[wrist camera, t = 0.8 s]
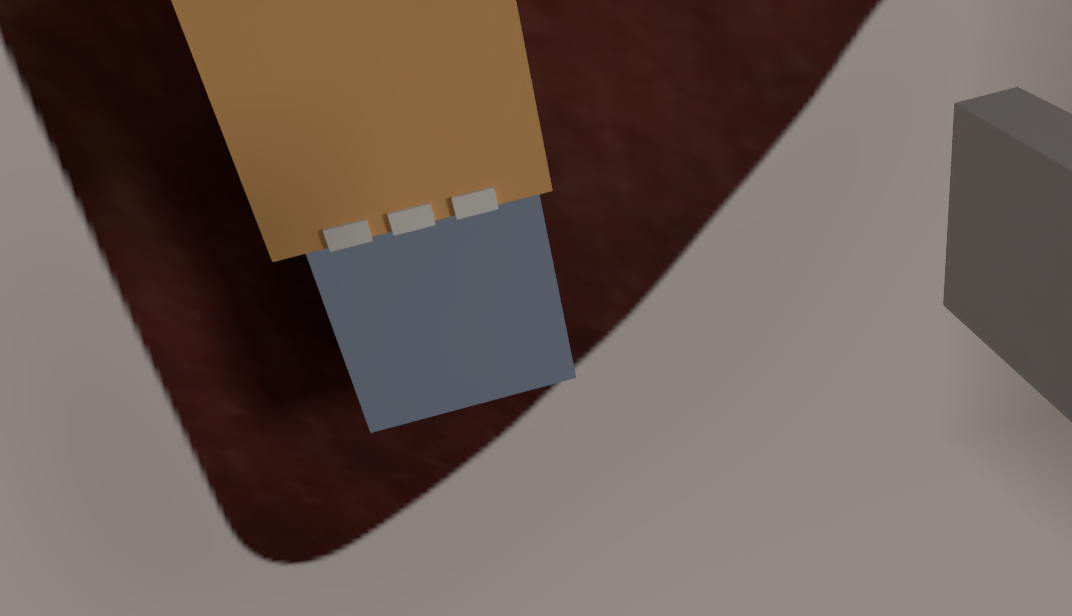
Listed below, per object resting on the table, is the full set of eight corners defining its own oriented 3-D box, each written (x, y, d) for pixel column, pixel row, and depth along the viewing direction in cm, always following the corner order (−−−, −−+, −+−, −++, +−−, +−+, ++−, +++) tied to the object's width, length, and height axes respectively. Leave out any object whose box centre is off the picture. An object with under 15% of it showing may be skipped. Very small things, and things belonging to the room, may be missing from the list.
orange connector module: (479, 47, 29) (554, 195, 20) (288, 94, 29) (273, 266, 20) (432, -167, 26) (495, -111, 17) (216, -118, 26) (157, -32, 16)
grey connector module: (551, 315, 35) (576, 379, 32) (365, 364, 35) (370, 434, 31) (496, 52, 30) (519, 95, 26) (275, 106, 29) (270, 156, 26)
